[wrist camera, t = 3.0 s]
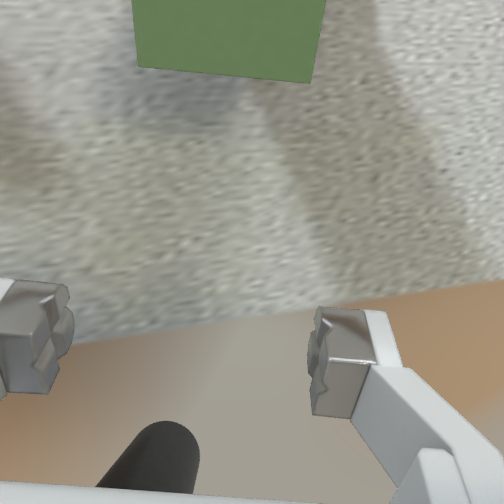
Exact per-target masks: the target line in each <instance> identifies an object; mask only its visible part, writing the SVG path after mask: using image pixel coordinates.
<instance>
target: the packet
mask: <svg viewBox="0 0 504 504" xmlns="http://www.w3.org/2000/svg"><path fill="white" fill-rule="evenodd" d="M131 1H132V11H133V21H134V31H135V41H136V51H137V62H138V66H139V67H147V68H157V69H167V70H177V71H187V72H197V73H207V74H217V75H227V76H237V77H248V78H258V79H268V80H278V81H288V82H298V83H308V84H310V83H311V79H312V73H313V68H314V63H315V57H316V52H317V46H318V41H319V36H320V30H321V25H322V19H323V14H324V8H325V3H326V0H131Z"/></svg>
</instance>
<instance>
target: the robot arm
mask: <svg viewBox="0 0 504 504" xmlns="http://www.w3.org/2000/svg"><path fill="white" fill-rule="evenodd" d="M69 299H70V296H69V292H68V288H67V286H65V285H64V284H56V283H47V282H38V281H29V280H14V279H6V278H0V400H1V399H3V398H4V397H5V396H7V392H9V393H10V392H11V393H29V394H48V393H49V391H50V389H51V387H52V384H53V383H54V380H55V378H56V376H57V374H58V372H59V370H60V369H59V365H58V359H60V358H61V357H62V356H64V355H65V354H67V352H68V350H69V348H70V345H71V343H72V339H73V334H74V316H73V312H72V311H71V310H70V309H69V308H68V307H66V305H67V303H68V301H69ZM314 323H315V330H314V331H312V332H311V334H310V339H309V344H308V353H307V364H308V373H309V374H310V376H311V377H312V382H311V387H310V398H311V407H312V415H315V416H324V417H334V418H343V419H351V420H350V422H351V423H352V425H353V426H354V427H355V429H356V430H357V432H358V433H359V434H360V436H361V437H362V438H363V440H364V441H365V443H366V444H367V446H368V447H369V448H370V450H371V451H372V453H373V454H374V455H375V457H376V458H377V460H378V461H379V462H380V464H381V465H382V467H383V468H384V470H385V471H386V473H387V474H388V475H389V477H390V478H391V480H392V481H393V482H394V484H395V485H396V487H397V488H398V489H397V491H396V493H395V494H394V496H393V498H392V500H391V501H390V503H389V504H504V458H503V456H502V453H501V452H500V451H499V450H498V449H497V448H496V447H495V446H494V445H493V444H491V442H489V441H488V440H487V439H486V438H485V437H484V436H483V435H482V434H481V433H480V432H479V431H478V430H476V428H474V427H473V426H472V425H471V424H470V423H469V422H468V421H467V420H466V419H465V418H464V417H462V415H460V414H459V413H458V412H457V411H456V410H455V409H454V408H453V407H451V405H450V404H449V403H448V402H446V401H445V400H444V399H443V398H442V397H441V396H440V395H439V394H438V393H437V392H436V391H435V390H434V389H432V388H431V387H430V386H429V385H428V384H427V383H426V382H425V381H424V380H423V379H422V378H421V377H420V376H418V375H417V374H416V373H415V372H414V371H413V370H412V369H411V368H404V366H403V363H402V360H401V357H400V353H399V350H398V347H397V344H396V341H395V338H394V334H393V331H392V328H391V325H390V321H389V318H388V315H387V313H386V312H385V311H378V310H364V309H363V310H360V309H348V308H335V307H322V306H318V308H317V310H316V313H315V317H314ZM0 504H321V503H307V502H293V501H280V500H266V499H252V498H238V497H223V496H210V495H196V494H182V493H168V492H154V491H140V490H126V489H112V488H98V487H82V486H70V485H56V484H41V483H28V482H14V481H1V480H0Z"/></svg>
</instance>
